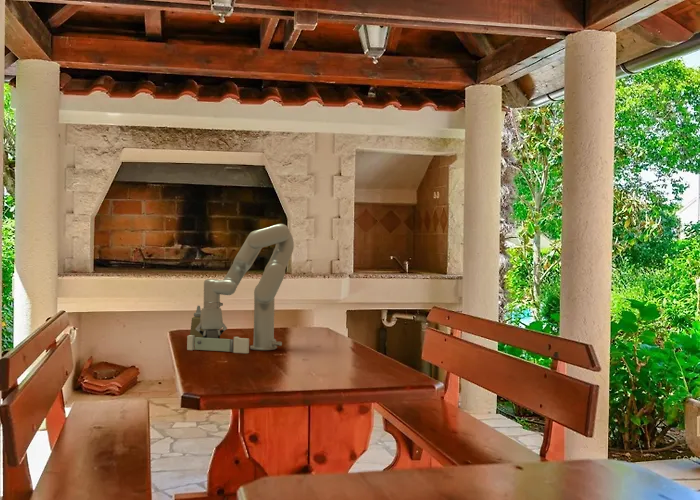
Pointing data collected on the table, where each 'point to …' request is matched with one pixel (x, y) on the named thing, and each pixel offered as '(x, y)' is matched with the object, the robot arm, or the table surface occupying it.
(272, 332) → the robot arm
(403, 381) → the table surface
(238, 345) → the pale rectangular blocks
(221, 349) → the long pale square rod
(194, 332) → the squeeze bottle
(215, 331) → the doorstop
